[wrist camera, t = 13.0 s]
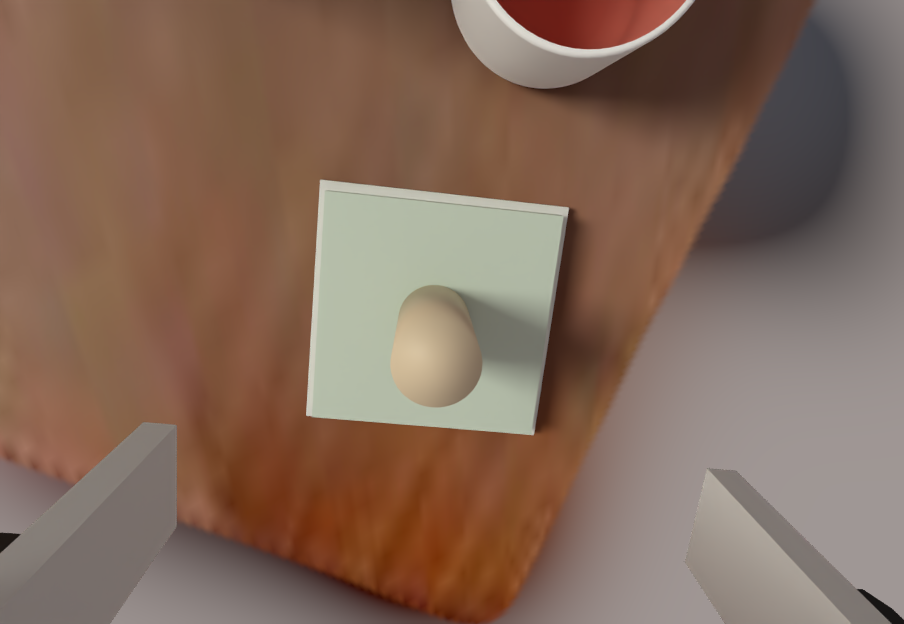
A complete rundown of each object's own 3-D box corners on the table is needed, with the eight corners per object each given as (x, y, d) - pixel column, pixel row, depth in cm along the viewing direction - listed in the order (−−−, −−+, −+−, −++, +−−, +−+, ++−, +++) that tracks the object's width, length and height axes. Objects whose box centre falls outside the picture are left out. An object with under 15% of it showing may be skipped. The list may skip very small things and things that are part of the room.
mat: (308, 411, 36) (306, 415, 36) (322, 179, 33) (320, 179, 32) (532, 430, 37) (533, 435, 36) (566, 207, 34) (569, 207, 33)
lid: (315, 408, 35) (278, 488, 27) (328, 190, 33) (291, 196, 24) (527, 426, 36) (561, 508, 27) (558, 214, 33) (607, 230, 24)
